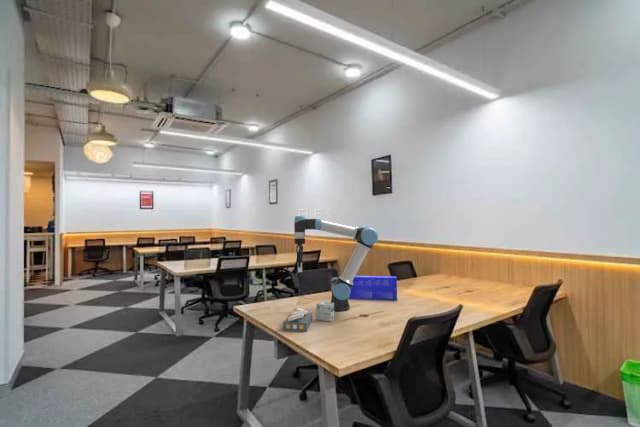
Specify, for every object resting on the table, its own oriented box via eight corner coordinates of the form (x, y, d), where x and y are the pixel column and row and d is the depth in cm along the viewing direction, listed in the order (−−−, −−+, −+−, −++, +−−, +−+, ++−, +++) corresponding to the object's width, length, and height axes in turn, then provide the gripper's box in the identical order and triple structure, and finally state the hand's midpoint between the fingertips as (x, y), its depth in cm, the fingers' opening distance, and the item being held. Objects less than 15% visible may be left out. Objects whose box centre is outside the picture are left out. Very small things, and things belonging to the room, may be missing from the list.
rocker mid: (306, 312, 204) (305, 309, 204) (304, 314, 200) (304, 311, 201) (292, 315, 206) (291, 312, 206) (290, 317, 202) (290, 314, 202)
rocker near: (304, 315, 198) (303, 312, 198) (302, 317, 194) (301, 313, 194) (290, 319, 199) (289, 316, 199) (288, 321, 195) (287, 318, 195)
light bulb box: (334, 318, 218) (334, 302, 218) (331, 321, 211) (331, 304, 211) (319, 317, 221) (319, 301, 221) (316, 320, 215) (316, 303, 215)
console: (312, 321, 212) (312, 311, 212) (306, 331, 192) (306, 321, 192) (291, 320, 214) (291, 311, 214) (283, 330, 194) (283, 320, 194)
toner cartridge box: (396, 298, 273) (396, 276, 274) (397, 300, 265) (396, 277, 265) (350, 296, 281) (350, 275, 281) (349, 298, 272) (349, 276, 273)
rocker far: (307, 313, 211) (307, 310, 211) (305, 315, 207) (306, 312, 207) (294, 308, 212) (294, 306, 212) (292, 310, 208) (293, 307, 208)
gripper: (296, 237, 236) (296, 270, 235) (292, 238, 223) (292, 273, 222) (306, 237, 235) (306, 270, 234) (303, 238, 222) (303, 273, 221)
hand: (299, 271), depth 228 cm, fingers closed
